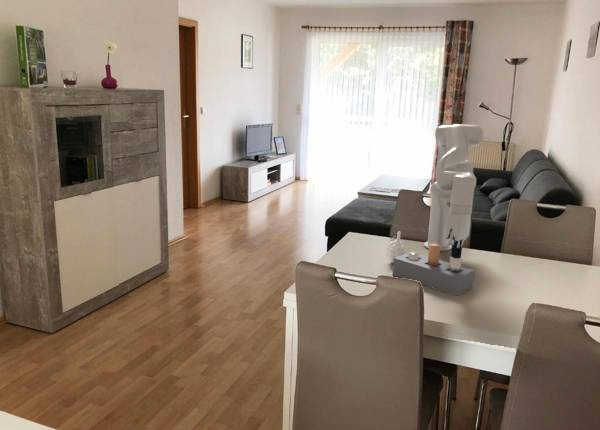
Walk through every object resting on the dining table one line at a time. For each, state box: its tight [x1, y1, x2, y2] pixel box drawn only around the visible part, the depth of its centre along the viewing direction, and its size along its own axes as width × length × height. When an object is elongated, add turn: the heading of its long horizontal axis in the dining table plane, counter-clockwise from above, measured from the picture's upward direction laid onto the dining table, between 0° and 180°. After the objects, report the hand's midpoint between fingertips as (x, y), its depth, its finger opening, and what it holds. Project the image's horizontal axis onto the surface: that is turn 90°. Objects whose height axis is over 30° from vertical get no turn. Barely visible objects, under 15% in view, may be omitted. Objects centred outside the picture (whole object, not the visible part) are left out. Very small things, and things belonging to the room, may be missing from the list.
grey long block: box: [392, 252, 476, 297], centre depth 195 cm, size 12×28×7 cm, turn 44°
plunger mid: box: [427, 244, 441, 267], centre depth 193 cm, size 4×4×8 cm
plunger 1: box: [407, 251, 420, 261], centre depth 201 cm, size 4×4×8 cm
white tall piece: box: [386, 230, 406, 264], centre depth 214 cm, size 8×6×14 cm
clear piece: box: [448, 255, 462, 273], centre depth 187 cm, size 4×4×8 cm
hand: (455, 257), depth 186 cm, fingers closed
